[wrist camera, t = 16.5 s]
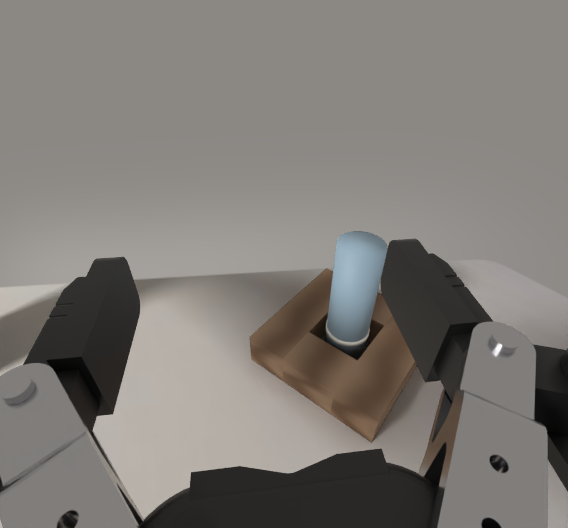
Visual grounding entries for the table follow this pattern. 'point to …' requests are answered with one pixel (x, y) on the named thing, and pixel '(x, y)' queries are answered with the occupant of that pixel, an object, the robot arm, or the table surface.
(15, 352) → the table surface
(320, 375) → the socket block
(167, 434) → the table surface
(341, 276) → the peg
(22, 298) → the table surface
